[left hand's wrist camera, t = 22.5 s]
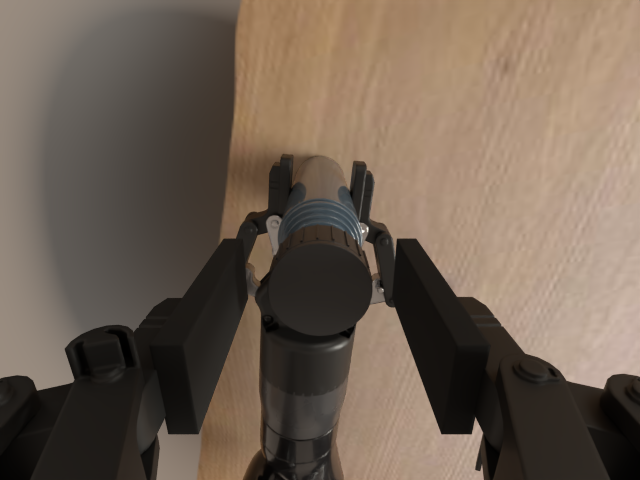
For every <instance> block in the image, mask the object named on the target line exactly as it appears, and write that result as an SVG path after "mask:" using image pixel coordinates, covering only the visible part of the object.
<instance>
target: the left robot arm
mask: <svg viewBox="0 0 640 480" xmlns="http://www.w3.org/2000/svg"><path fill="white" fill-rule="evenodd" d="M247 300H248V291H247V279H246V268H245V256H244V245H243V239H223V241H222V242H221V244H220V245H219V246H218V248H217V249H216V251H215V252H214V254H213V255H212V256H211V258H210V259H209V261H208V262H207V263H206V265H205V266H204V268H203V269H202V271H201V272H200V273H199V275H198V276H197V278H196V279H195V281H194V282H193V283H192V285H191V286H190V288H189V289H188V291H187V292H186V294H185V295H184V296H183V298H167V299H166V300H164V301H163V302H161V303H159V304H158V305H156V306H155V307H154V308H153V309H152V310H151V312H150V313H149V314H148V315H147V316H146V319H144V320H143V321H142V323H141V324H140V325H139V328H137V329H136V330H135V331H134V333H133V331H132V330H131V329H130V328H129V327H126V326H122V325H109V326H104V327H100V328H96V329H93V330H90V331H88V332H86V333H83V334H81V335H80V336H78V337H77V338H75V339H74V340H72V341H71V342H70V343H69V344H68V346H67V347H66V348H65V352H66V355H67V358H68V361H69V364H70V367H71V370H72V373H73V376H74V379H75V380H74V382H73V383H70V384H66V385H61V386H57V387H52V388H48V389H43V390H39V391H37V390H36V387H35V385H34V382H33V380H31V379H30V378H29V377H27V376H18V375H17V376H10V377H4V378H1V379H0V480H156V476H157V467H158V459H159V449H160V447H159V440H158V436H157V433H158V431H159V429H160V427H161V425H162V423H163V421H164V419H165V421H166V425H167V430H168V434H199V431H200V429H201V426H202V423H203V420H204V418H205V415H206V412H207V410H208V407H209V404H210V401H211V399H212V396H213V393H214V390H215V388H216V385H217V382H218V379H219V377H220V374H221V371H222V368H223V366H224V363H225V360H226V358H227V355H228V352H229V349H230V347H231V344H232V341H233V338H234V336H235V333H236V330H237V327H238V325H239V322H240V319H241V316H242V314H243V311H244V308H245V305H246V303H247ZM392 300H393V303H394V305H395V308H396V311H397V314H398V316H399V319H400V322H401V325H402V327H403V330H404V333H405V336H406V338H407V341H408V344H409V347H410V349H411V352H412V355H413V358H414V360H415V363H416V366H417V368H418V371H419V374H420V377H421V379H422V382H423V385H424V388H425V390H426V393H427V396H428V399H429V401H430V404H431V407H432V410H433V412H434V415H435V418H436V420H437V423H438V426H439V429H440V431H441V434H472V430H473V425H474V421H475V417H476V419H477V421H478V423H479V425H480V427H481V429H482V431H483V436H482V440H481V444H480V449H479V453H478V457H477V461H476V468H475V470H478V471H480V470H481V466H483V475H484V480H640V377H638V376H634V375H628V374H617V375H612V376H611V377H610V378H608V379H607V382H606V385H605V387H604V389H599V388H595V387H590V386H586V385H581V384H576V383H572V382H569V381H566V379H565V378H564V376H563V375H562V374H561V372H560V371H559V370H558V369H556V368H555V367H554V366H553V365H551V364H550V363H548V362H546V361H544V360H542V359H540V358H538V357H535V356H531V355H528V354H525V353H524V352H523V351H522V349H521V348H520V347H519V346H518V344H517V343H516V342H515V341H514V340H513V338H512V337H511V336H510V335H509V333H508V332H507V331H506V330H505V328H504V327H501V324H500V322H499V321H498V320H497V319H496V318H494V315H493V314H492V312H491V311H490V310H489V309H488V308H487V306H486V305H484V304H483V303H481V302H479V301H478V300H476V299H475V298H473V297H457V296H456V295H455V293H454V292H453V291H452V289H451V288H450V286H449V285H448V283H447V282H446V281H445V279H444V278H443V276H442V275H441V273H440V272H439V271H438V269H437V268H436V266H435V265H434V263H433V262H432V261H431V259H430V258H429V256H428V255H427V254H426V252H425V251H424V249H423V248H422V246H421V245H420V244H419V242H418V241H417V239H397V245H396V256H395V268H394V279H393V291H392Z"/></svg>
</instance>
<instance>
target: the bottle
mask: <svg viewBox="0 0 640 480" xmlns="http://www.w3.org/2000/svg"><path fill="white" fill-rule="evenodd" d="M316 224H319V225H327V226H331V225H332V226H333V227H336V228H339V229H341V230H343V231H347V233H348V234H349V235H351V236H352V237H353V238H354V239H355V240H356V239H357V240H358V244H359V245H360V247H361V246H362V237H363V236H362V229H361V226H360V223H359V219H358V216H357V213H356V210H355V207H354V204H353V201H352V198H351V195H350V192H349V189H348V186H347V183H346V180H345V177H344V174H343V171H342V169H341V167H340V166H339V165H338V164H337V163H336V162H335V161H334V160H332V159H330V158H328V157H324V156H316V157H312V158H310V159H308V160H306V161H305V162H303V163H302V165H301V166H300V167H299V169H298V171H297V174H296V177H295V180H294V183H293V186H292V189H291V192H290V195H289V198H288V201H287V204H286V207H285V210H284V213H283V217H282V220H281V223H280V226H279V230H278V246H279V245H280V243H282V242H283V241H284V240H285V239H286V238H287V237H288V236H289V234H290V233H291V234H292V233H294V232H295V231H297V230H299V229H302V227H304V228H305V227H308V226H313V225H316Z"/></svg>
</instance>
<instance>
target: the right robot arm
mask: <svg viewBox="0 0 640 480" xmlns="http://www.w3.org/2000/svg"><path fill="white" fill-rule="evenodd" d="M366 169H367V167H366V164H365V162H362V161H354V162H353V168H352V176H351V184H350V195H351V198H352V201H353V204H354V207H355V210H356V213H357V216H358V219H359V223H360V226H361V229H362V236H363V237H362V245H363V243H364V241H367V242H370V243H372V244H373V246H374V252H375V258H376V264H377V269H378V273H375V274H373V275H372V279H373V282H372V286H373V292H372V299H371V302H370V304H375V303H381V302H386V304H387V305H388V306H389V307H395V305H394V303H393V300H392V291H393V279H394V268H395V251H394V244H393V239H392V237H391V235H390V233H389V231H388V229H387V227H386V226H385V225H384V224H383V223H377V222H375V221H373V220H371V219H370V210H371V203H372V196H373V190H374V183H375V182H374V178H373V175H372V173H371V172H370V171H366ZM292 171H293V155H287V154H283V155H282V156H281V160H280V163H278V162H275V163H274V165H273V166H272V169H271V171H270V173H269V202H268V209H267V210H265V211H262V212H258V213H257V212H251V213H249V214H248V215H247V217H246V219H245V221H244V222H243V223H242V225H241V226H240V229H239V232H238V234H237V237H236V239H243V245H244V256H245V268H246V279H247V291H248V295H251V296H254V297H255V301H256V303H257V305H258V306H259V308H260V311H261V337H260V369H259V393H260V400H261V428H260V443H261V449H260V450H259V451H258V452H257V453H256V454H255V455H254V457H253V458H252V460H251V462H250V464H249V466H248V468H247V470H246V473H245V475H244V477H243V480H344V477H343V472H342V467H341V463H340V459H339V454H338V449H337V444H336V436H337V429H338V422H339V415H340V410H341V408H342V405H343V402H344V398H345V394H346V388H347V382H348V375H349V368H350V362H351V355H352V348H353V341H354V335H355V328H356V324H354V325H353V326H352V327H350V328H348V329H346V330H344V331H342V332H339V333H336V334H332V335H325V336H315V335H308V334H304V333H301V332H298V331H296V330H294V329H292V328H290V327H289V326H287V325H286V324H284V323H283V322H282V321H281V320H280V319H279V318H278V317H277V315H276V314H275V312H274V311H273V309H272V307H271V305H270V302H269V299H268V286H267V284H268V280H269V277H270V273H269V272H268V273H267V274H266V275H265V277H264V278H263V279H262V280H261V281H259V280H257V279H256V278H255V275H254V273H255V268H254V266H253V265H252V264H250V263H247V262H248V259H249V257H250V254H251V251H252V248H253V246H254V243H255V240H256V238H257V235H260V234H263V233H267V232H268V234H269V238H270V241H271V245H272V253H273V257H274V255H276V253H277V251H278V248H279V246H278V230H279V226H280V223H281V220H282V217H283V213H284V210H285V207H286V204H287V201H288V198H289V195H290V192H291V188H292ZM361 248H362V246H361Z"/></svg>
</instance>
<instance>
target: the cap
mask: <svg viewBox="0 0 640 480" xmlns="http://www.w3.org/2000/svg"><path fill="white" fill-rule="evenodd" d="M269 273H270V277H269V280H268V284H267V286H268V299H269V302H270V305H271V307H272V309H273V311H274V312H275V314H276V315H277V317H278V318H279V319H280V320H281V321H282V322H283V323H284V324H286V325H287V326H289V327H290V328H292V329H294V330H296V331H298V332H301V333H304V334H308V335H315V336H325V335H332V334H336V333H339V332H342V331H344V330H346V329H348V328H350V327H352V326H353V325H354V324H356V323H357V322H358V321H359V320H360V319H361V318H362V317H363V315H364V314H365V313H366V311H367V309H368V307H369V305H370V302H371V299H372V292H373V286H372V282H373V279H372V276H371V273H370V269H369V264H368V261H367V258H366V254H365V251H363V250H362V248H361V247H360V245H359V244H358V240H357V239H356V240H355V239H354V238H353V237H352V236H351V235H349V234H348V233H347V231H343V230H341V229H339V228H336V227H333V226H332V225H331V226H327V225H319V224H316V225H313V226H308V227H305V228H304V227H302V229H299V230H297V231H295V232H294V233H292V234H291V233H290V234H289V236H288V237H287V238H286V239H285V240H284V241H283V242H282V243H280V245H279V248H278V251H277V253H276V255H274V257H273V260H272V264H271V267H270V271H269Z"/></svg>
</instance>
